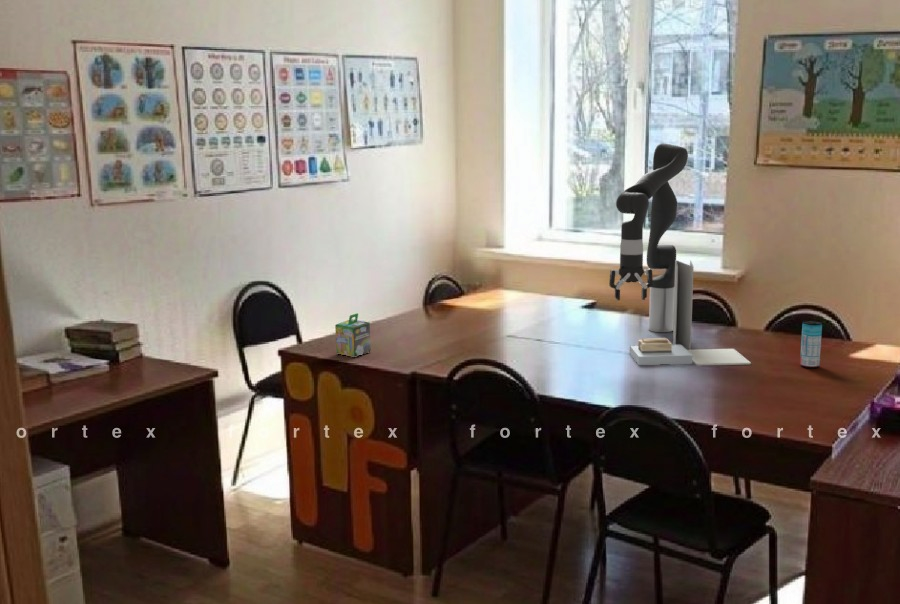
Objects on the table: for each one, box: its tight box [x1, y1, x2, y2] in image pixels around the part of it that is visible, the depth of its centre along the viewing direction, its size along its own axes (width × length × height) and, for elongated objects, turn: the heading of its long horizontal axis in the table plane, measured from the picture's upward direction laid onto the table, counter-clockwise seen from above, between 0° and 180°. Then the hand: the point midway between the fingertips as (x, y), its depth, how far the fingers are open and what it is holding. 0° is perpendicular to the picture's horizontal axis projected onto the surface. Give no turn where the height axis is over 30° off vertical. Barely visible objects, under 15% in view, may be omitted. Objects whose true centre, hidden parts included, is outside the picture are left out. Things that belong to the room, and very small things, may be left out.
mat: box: [686, 348, 752, 367], centre depth 303 cm, size 18×18×1 cm
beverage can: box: [799, 319, 823, 369], centre depth 288 cm, size 6×6×15 cm
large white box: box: [629, 343, 693, 366], centre depth 303 cm, size 14×18×3 cm
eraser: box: [637, 337, 673, 353], centre depth 302 cm, size 6×10×4 cm, turn 90°
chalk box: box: [334, 313, 371, 356], centre depth 317 cm, size 9×9×15 cm
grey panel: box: [672, 259, 694, 350], centre depth 317 cm, size 14×6×30 cm, turn 168°
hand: (630, 299), depth 299 cm, fingers open, 8 cm apart
